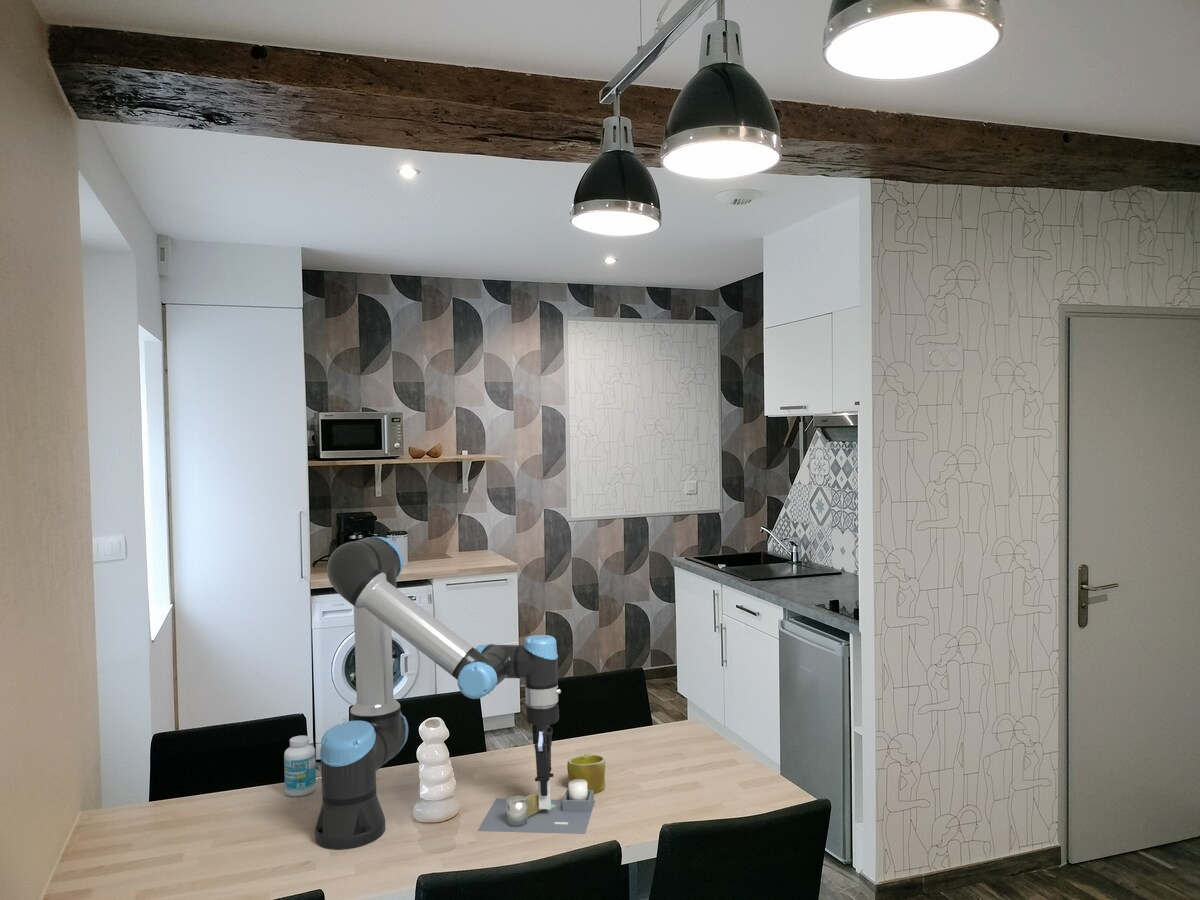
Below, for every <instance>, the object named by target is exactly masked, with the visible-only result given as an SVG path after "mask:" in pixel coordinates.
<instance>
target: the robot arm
mask: <svg viewBox="0 0 1200 900" xmlns="http://www.w3.org/2000/svg"><path fill="white" fill-rule="evenodd" d="M403 566H404V557H403V554H402V551H401V550H400V548H399V546H398V545H397V544H396V543H395V542H394V541H393V540H391V539H389V538H387V537H383V536H370V537H367V536H366V537H365V538H361V539H358V540H355V541H348V542H346V543H342V544H341V545H339V546H338V547H337V548H335V549H334V550H333V552H332V553H331V554H330V556H329V558H328V561H327V565H326V573H327V578H328V581H329V583H330V585H331V586H332V587H333V589H334V590H335V592H336V593H337V594H339V595H340V596H341V597H342V598H343V599H344V600H346V601H347V602H348V603H349V604H351V605H352V606H353V626H354V627H353V629H354V658H355V686H356V687H355V688H356V689H355V690H356V702H355V703H354V705H352V707H351V708H350V710H349V713H350V714H349V715H350V720H349V721H344V722H342V724H336V725H334V726H331V727H330V728H329V729H328V730H326V731H325V732H324V734H323V735H322V737H321V741H320V748H319V749H320V750H319V756H320V768H321V771H320V772H321V798H322V800H321V807H320V810H319V813H318V816H317V821H316V824H315V826H314V827H315V828H314V841H315V843H316V844H317V845H318V846H320V847H321V848H326V849H333V850H343V849H351V848H353V849H354V848H357V847H361V846H364V845H367V844H370V843H373V842H374V841H375V840H377V839H379V838H380V837H381V836H382V835H383V834H384V833H385V832H386V816H385V814H384V811H383V809H382V805H381V803H380V801H379V798H378V795H377V771H378V770H379V769H380V768H382V767H383V766H384V765H385V764H387V763H388V762H389V761H390V760H392V759H394V758H395V757H396V756H397V755H398V754H399V753H400V752H401V750H403V748H404V746H405V744H406V742H407V741H408V736H409V724H408V720H407V718H406V716H405V715H403V714H402V711H401V704H400V703H399V702H398V701H397V700H396V699H395V697H394V670H393V665H394V664H393V638H392V631H393V632H395V633H396V634H397V635H399V636H400V637H401V638H403V639H404V640H405V641H406V642H408V643H409V644H411V646H413V647H414V648H415V649H417V650H418V651H419V652H421V653H422V654H423V655H425V656H426V657H427V658H428V659H430V660H431V661H432V662H434V663H435V664H436V665H437V666H439V667H440V668H442V670H444V671H445V672H446V673H448V674H449V675H451V676H452V677H453V678H454V679H456V681H457V688H458V689H459V691H460V692H461V694H462V695H463V696H464V697H465V698H466V697H467V698H468V699H472V700H475V699H476V700H479V699H482V698H484V697H486V696H487V695H489V694H491V692H493V691H494V690H495V688H496V687H497V686H498V685H499V684H500V683H502V682H503V681H504V680H505V679H524V680H525V683H524V684H525V686H524V689H525V693H524V694H525V695H524V696H525V704H526V706H525V713H526V714H525V717H526V722H527V724H529V725H532V726H535V728H534V731H533V740H534V745H533V747H534V752H535V764H536V766H535V767H536V777H534V781H535V782H537V783H538V786H537V787H538V789H537V791H538V792H539V809H551V800H552V790H551V789H552V786H551V785H552V784H551V783H552V781H551V778H554V774H555V773H551V772H552V740H553V739H552V736H553V727H552V726H551V725H553V724H556V723H557V722H559V719H560V708H559V707H560V706H559V704H558V702H559V695H560V694H561V693H562V690H561V689H560V688H559V678H558V671H559V669H558V665H559V664H558V658H559V656H558V649H557V648H558V647H557V639H556V638H555V637H554V636H552V635H547V634H534V635H529V636H527V637H525V638H524V640H523V641H524V642H523V644H493V643H489V644H479V645H478V646H476V647H474V646H473V645H471V644H470V643H469V642H468V641H466V640H464V639H463V638H462V637H461V636H460V635H458V634H457V633H456V632H454V631H453V630H451V628H449V627H447V626H446V625H445V624H444V623H443V622H441V621H440V620H439V619H437V618H436V617H435V616H433V615H432V614H430V613H429V611H427V610H425V609H424V608H423V607H422V606H421V605H420V604H418V603H416V602H415V601H414V600H412V599H411V598H410V597H409V596H407V595H406V594H405V593H403V591H401V590H400V589H398V588H397V586H398V585H397V578H398V577H399V575H400V574H401V572H402V570H403Z"/></svg>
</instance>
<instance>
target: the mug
mask: <svg viewBox="0 0 1200 900" xmlns="http://www.w3.org/2000/svg"><path fill="white" fill-rule="evenodd" d="M566 766H567V768H566V769H567V777H568V783H569V782H570V781H571V780H574V779H583V780H586V781H587V790H594V795H597V794H600V793H602V792H604V791H605V789H606V761H605V758H604V757H603V756H601V755H598V754H597V755H596V754H592V753H584V754H583V755H580V756H579V755H578V756H573V757H571V758H569V759H568V760H567V765H566Z"/></svg>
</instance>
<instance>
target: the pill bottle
mask: <svg viewBox="0 0 1200 900" xmlns="http://www.w3.org/2000/svg"><path fill="white" fill-rule="evenodd" d="M283 754H284V755H283V759H284V760H283V763H284V765H283V766H284V793H285V794H286V795H287V796H289V797H297V798H298V797H304V796H307V795H310V794H312V793H313V792H314V791H315V790H316V787H317V782H316V781H317V780H316V779H317V777H316V776H317V775H316V773H317V771H316V767H317V766H316V749H315V747H314V745H312V744H310V737H309V735H297V736H292V737H291V738H290V739H289V747H288V748H286V749H285V751H284V753H283Z"/></svg>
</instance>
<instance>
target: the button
mask: <svg viewBox="0 0 1200 900" xmlns="http://www.w3.org/2000/svg"><path fill="white" fill-rule="evenodd" d="M568 790H569V800H588V790H587V781H586V780H583V779H574V780H571V781H570V782H569V781H568Z"/></svg>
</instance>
